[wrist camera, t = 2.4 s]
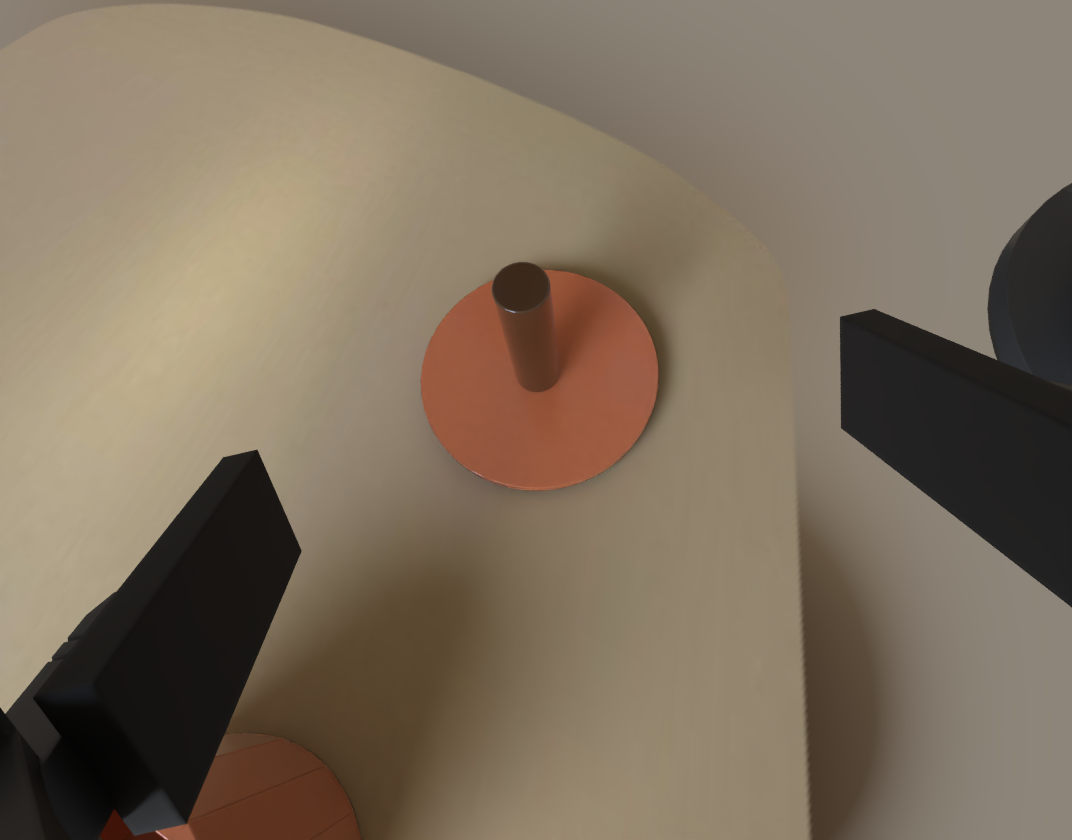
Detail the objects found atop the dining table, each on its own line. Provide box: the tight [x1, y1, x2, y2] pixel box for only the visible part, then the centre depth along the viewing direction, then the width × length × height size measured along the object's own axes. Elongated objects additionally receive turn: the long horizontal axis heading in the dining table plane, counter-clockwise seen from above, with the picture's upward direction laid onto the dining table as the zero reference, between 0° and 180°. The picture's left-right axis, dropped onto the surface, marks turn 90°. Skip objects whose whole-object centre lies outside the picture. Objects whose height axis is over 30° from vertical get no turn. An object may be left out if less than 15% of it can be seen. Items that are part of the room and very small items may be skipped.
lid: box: [421, 262, 659, 491], centre depth 33 cm, size 14×14×10 cm
